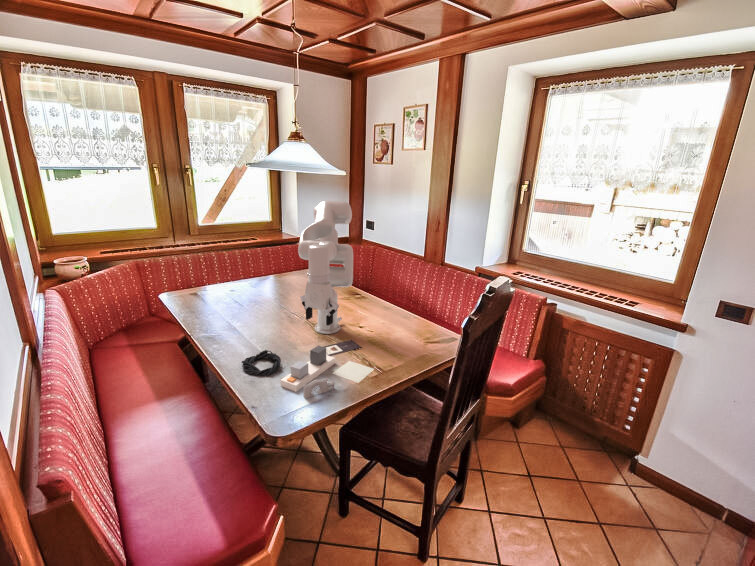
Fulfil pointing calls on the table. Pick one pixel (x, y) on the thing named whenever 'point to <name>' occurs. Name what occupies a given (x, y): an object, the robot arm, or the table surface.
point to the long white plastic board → (312, 373)
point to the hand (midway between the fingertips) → (319, 321)
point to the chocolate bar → (341, 347)
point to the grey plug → (299, 370)
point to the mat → (353, 371)
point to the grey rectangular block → (318, 355)
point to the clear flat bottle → (318, 383)
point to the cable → (271, 356)
